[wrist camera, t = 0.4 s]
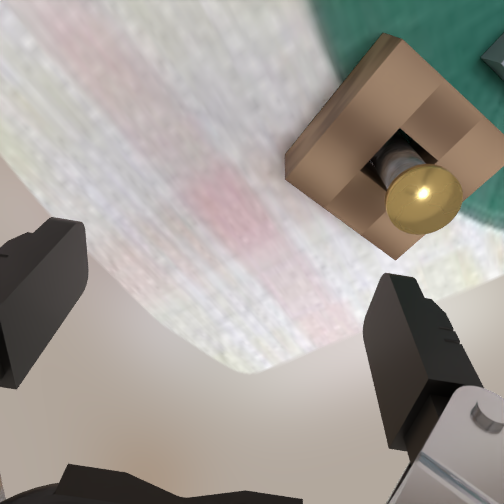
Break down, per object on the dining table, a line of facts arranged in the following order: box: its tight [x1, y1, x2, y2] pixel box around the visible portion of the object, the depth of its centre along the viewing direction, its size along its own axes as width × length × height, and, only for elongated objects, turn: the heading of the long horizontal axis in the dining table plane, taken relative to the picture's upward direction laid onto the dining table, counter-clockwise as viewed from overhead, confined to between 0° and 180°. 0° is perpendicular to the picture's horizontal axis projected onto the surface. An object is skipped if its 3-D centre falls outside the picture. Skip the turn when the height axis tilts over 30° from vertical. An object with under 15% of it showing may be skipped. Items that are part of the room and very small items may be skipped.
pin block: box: [285, 33, 504, 260], centre depth 33 cm, size 12×12×6 cm
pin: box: [371, 131, 463, 235], centre depth 30 cm, size 4×4×13 cm
